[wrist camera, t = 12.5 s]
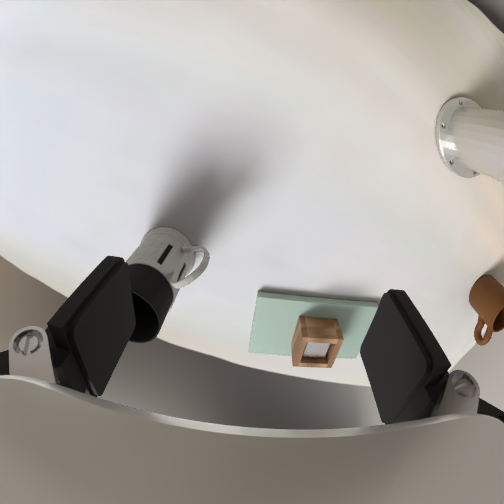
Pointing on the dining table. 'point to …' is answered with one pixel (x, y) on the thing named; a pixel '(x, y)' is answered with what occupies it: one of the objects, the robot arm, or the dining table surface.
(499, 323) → the mug
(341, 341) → the walnut collar
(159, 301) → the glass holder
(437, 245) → the dining table surface
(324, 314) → the base board
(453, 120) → the robot arm
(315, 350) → the white plaster cube
